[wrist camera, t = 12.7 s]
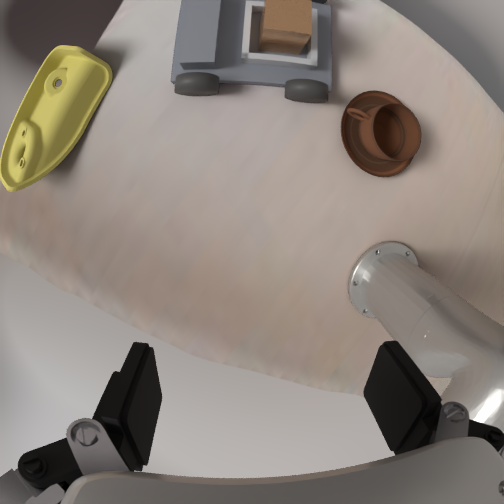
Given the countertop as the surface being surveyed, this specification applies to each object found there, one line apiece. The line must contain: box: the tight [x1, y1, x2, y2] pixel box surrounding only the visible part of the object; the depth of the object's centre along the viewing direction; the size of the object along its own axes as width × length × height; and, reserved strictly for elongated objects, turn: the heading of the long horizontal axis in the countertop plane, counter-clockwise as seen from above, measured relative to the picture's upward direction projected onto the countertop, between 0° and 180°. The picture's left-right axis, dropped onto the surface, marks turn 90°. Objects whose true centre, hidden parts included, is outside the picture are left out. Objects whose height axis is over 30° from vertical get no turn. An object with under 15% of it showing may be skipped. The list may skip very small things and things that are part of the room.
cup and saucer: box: [341, 91, 421, 177], centre depth 32 cm, size 12×12×6 cm
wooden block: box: [258, 0, 312, 55], centre depth 25 cm, size 5×5×7 cm
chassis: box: [171, 0, 332, 103], centre depth 27 cm, size 20×18×5 cm
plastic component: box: [0, 45, 113, 192], centre depth 29 cm, size 20×8×10 cm
